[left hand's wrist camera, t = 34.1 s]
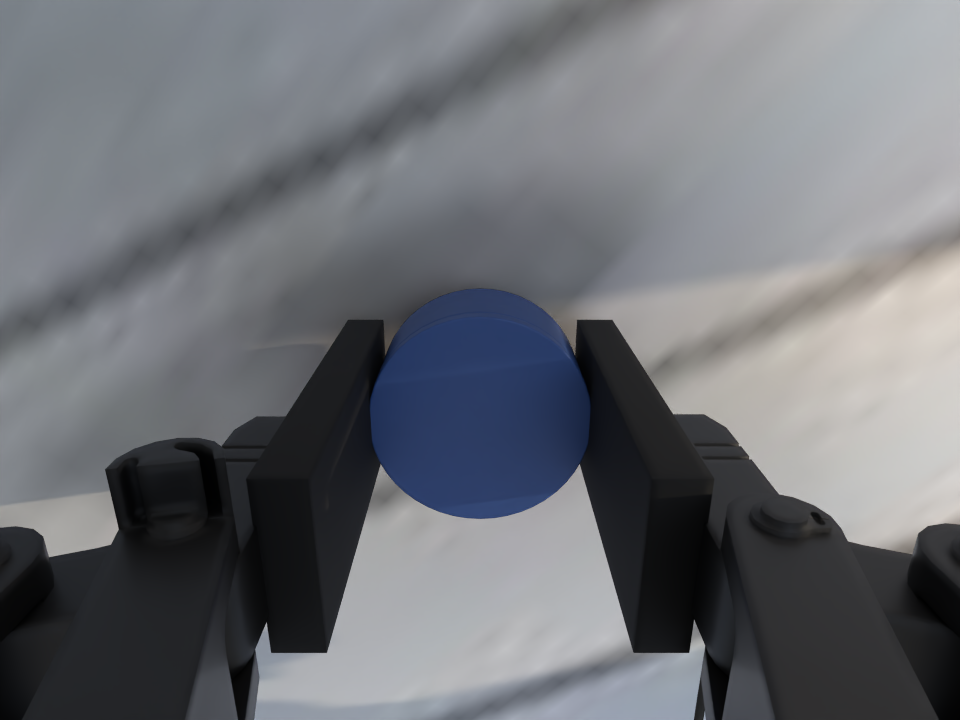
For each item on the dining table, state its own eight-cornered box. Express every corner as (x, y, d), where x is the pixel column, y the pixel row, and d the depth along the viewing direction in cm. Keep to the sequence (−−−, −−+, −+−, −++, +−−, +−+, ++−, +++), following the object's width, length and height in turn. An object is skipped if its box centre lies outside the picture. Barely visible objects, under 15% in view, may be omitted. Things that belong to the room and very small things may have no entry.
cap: (558, 477, 15) (570, 530, 13) (376, 456, 15) (361, 507, 13) (594, 301, 14) (613, 332, 12) (391, 275, 13) (376, 302, 12)
